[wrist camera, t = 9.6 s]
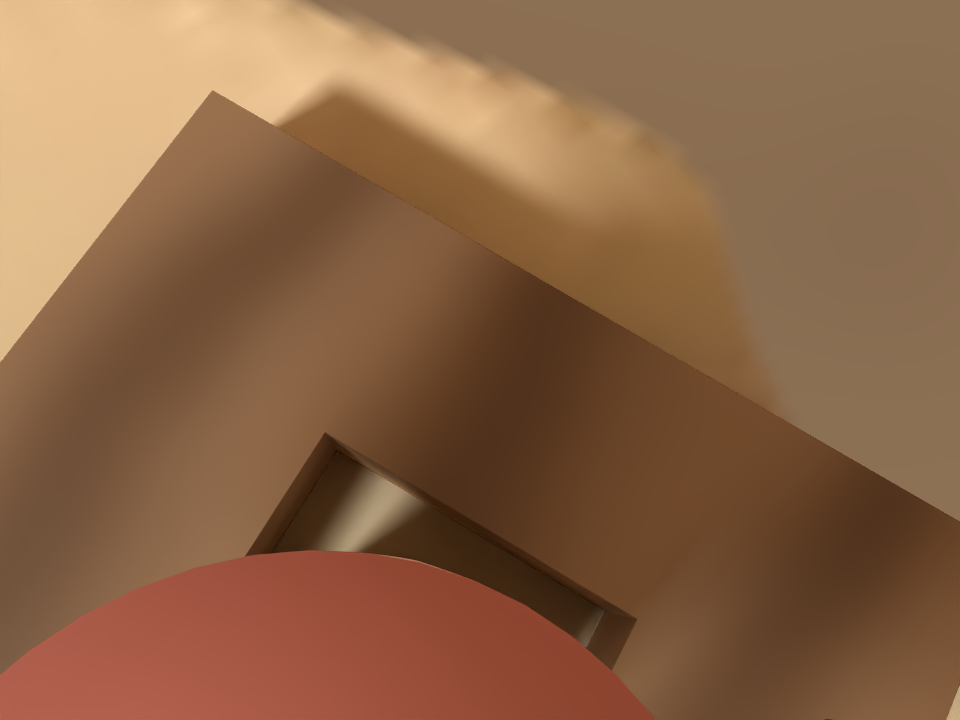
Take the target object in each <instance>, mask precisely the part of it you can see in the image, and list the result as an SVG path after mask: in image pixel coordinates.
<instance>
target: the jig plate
mask: <svg viewBox="0 0 960 720" xmlns="http://www.w3.org/2000/svg"><path fill="white" fill-rule="evenodd" d="M337 450H338V451H340V452H342V453H343V454H345V455H347V456H348V457H350V458H352V459H353V460H355V461H357V462H358V463H360V464H362V465H363V466H365V467H367V468H368V469H370V470H372V471H373V472H375V473H377V474H378V475H380V476H382V477H383V478H385V479H387V480H388V481H390V482H392V483H393V484H395V485H397V486H398V487H400V488H402V489H403V490H405V491H407V492H408V493H410V494H412V495H413V496H415V497H417V498H418V499H420V500H422V501H423V502H425V503H427V504H428V505H430V506H432V507H433V508H435V509H437V510H438V511H440V512H442V513H443V514H445V515H447V516H448V517H450V518H452V519H453V520H455V521H457V522H458V523H460V524H462V525H463V526H465V527H467V528H468V529H470V530H472V531H473V532H475V533H477V534H478V535H480V536H482V537H483V538H485V539H487V540H488V541H490V542H492V543H493V544H495V545H497V546H498V547H500V548H502V549H503V550H505V551H507V552H508V553H510V554H512V555H513V556H515V557H517V558H518V559H520V560H522V561H523V562H525V563H527V564H528V565H530V566H532V567H533V568H535V569H537V570H538V571H540V572H542V573H543V574H545V575H547V576H548V577H550V578H552V579H553V580H555V581H557V582H558V583H560V584H562V585H563V586H565V587H567V588H568V589H570V590H572V591H573V592H575V593H577V594H578V595H580V596H582V597H583V598H585V599H587V600H588V601H590V602H592V603H593V604H595V605H597V606H598V607H600V608H602V609H603V610H605V613H604V615H603V617H602V619H601V621H600V623H599V625H598V627H597V629H596V631H595V633H594V634H593V636H592V638H591V640H590V642H589V644H588V646H587V648H586V649H587V650H588V651H590V652H591V653H592V654H593V655H594V656H595V657H597V658H598V659H599V660H600V661H601V662H602V663H603V664H605V665H606V666H607V667H608V668H609V669H610V670H611V671H613V672H614V673H615V674H616V675H617V676H618V677H619V679H620V680H621V681H622V682H623V683H624V684H625V685H626V686H627V688H628V689H629V690H630V691H631V692H632V693H633V694H634V695H635V697H636V698H637V699H638V700H639V701H640V702H641V703H642V704H643V705H644V707H645V708H646V709H647V710H648V711H649V712H650V713H651V714H652V716H653V717H654V718H655V719H656V720H825V719H832V720H946V719H947V716H948V714H949V711H950V708H951V706H952V703H953V700H954V698H955V695H956V693H957V690H958V687H959V685H960V522H959V521H958V520H956V519H954V518H952V517H951V516H949V515H947V514H945V513H944V512H942V511H940V510H939V509H937V508H935V507H933V506H932V505H930V504H928V503H926V502H925V501H923V500H921V499H919V498H918V497H916V496H914V495H913V494H911V493H909V492H907V491H906V490H904V489H902V488H900V487H899V486H897V485H895V484H894V483H892V482H890V481H888V480H886V479H885V478H883V477H881V476H880V475H878V474H876V473H875V472H873V471H871V470H869V469H868V468H866V467H864V466H862V465H861V464H859V463H857V462H855V461H854V460H852V459H850V458H848V457H847V456H845V455H843V454H842V453H840V452H838V451H836V450H835V449H833V448H831V447H829V446H828V445H826V444H824V443H823V442H821V441H819V440H817V439H816V438H814V437H812V436H810V435H809V434H807V433H805V432H803V431H802V430H800V429H798V428H797V427H795V426H793V425H791V424H790V423H788V422H786V421H784V420H783V419H781V418H779V417H778V416H776V415H774V414H772V413H771V412H769V411H767V410H765V409H764V408H762V407H760V406H758V405H757V404H755V403H753V402H752V401H750V400H748V399H746V398H745V397H743V396H741V395H739V394H738V393H736V392H734V391H732V390H731V389H729V388H727V387H726V386H724V385H722V384H720V383H719V382H717V381H715V380H713V379H712V378H710V377H708V376H706V375H705V374H703V373H701V372H700V371H698V370H696V369H694V368H693V367H691V366H689V365H687V364H686V363H684V362H682V361H681V360H679V359H677V358H675V357H674V356H672V355H670V354H668V353H667V352H665V351H663V350H661V349H660V348H658V347H656V346H655V345H653V344H651V343H649V342H648V341H646V340H644V339H642V338H641V337H639V336H637V335H635V334H634V333H632V332H630V331H629V330H627V329H625V328H623V327H622V326H620V325H618V324H616V323H615V322H613V321H611V320H609V319H608V318H606V317H604V316H603V315H601V314H599V313H597V312H596V311H594V310H592V309H590V308H589V307H587V306H585V305H584V304H582V303H580V302H578V301H577V300H575V299H573V298H571V297H570V296H568V295H566V294H564V293H563V292H561V291H559V290H558V289H556V288H554V287H552V286H551V285H549V284H547V283H545V282H544V281H542V280H540V279H538V278H537V277H535V276H533V275H532V274H530V273H528V272H526V271H525V270H523V269H521V268H519V267H518V266H516V265H514V264H512V263H511V262H509V261H507V260H506V259H504V258H502V257H500V256H499V255H497V254H495V253H493V252H492V251H490V250H488V249H487V248H485V247H483V246H481V245H480V244H478V243H476V242H474V241H473V240H471V239H469V238H467V237H466V236H464V235H462V234H461V233H459V232H457V231H455V230H454V229H452V228H450V227H448V226H447V225H445V224H443V223H441V222H440V221H438V220H436V219H435V218H433V217H431V216H429V215H428V214H426V213H424V212H422V211H421V210H419V209H417V208H415V207H414V206H412V205H410V204H409V203H407V202H405V201H403V200H402V199H400V198H398V197H396V196H395V195H393V194H391V193H390V192H388V191H386V190H384V189H383V188H381V187H379V186H377V185H376V184H374V183H372V182H370V181H369V180H367V179H365V178H364V177H362V176H360V175H358V174H357V173H355V172H353V171H351V170H350V169H348V168H346V167H344V166H343V165H341V164H339V163H338V162H336V161H334V160H332V159H331V158H329V157H327V156H325V155H324V154H322V153H320V152H318V151H317V150H315V149H313V148H312V147H310V146H308V145H306V144H305V143H303V142H301V141H299V140H298V139H296V138H294V137H293V136H291V135H289V134H287V133H286V132H284V131H282V130H280V129H279V128H277V127H275V126H273V125H272V124H270V123H268V122H267V121H265V120H263V119H261V118H260V117H258V116H256V115H254V114H253V113H251V112H249V111H247V110H246V109H244V108H242V107H241V106H239V105H237V104H235V103H234V102H232V101H230V100H228V99H227V98H225V97H223V96H221V95H220V94H218V93H216V92H215V91H213V90H212V92H211V93H210V94H209V95H208V97H207V98H206V99H205V101H204V102H203V103H202V104H201V106H200V107H199V108H198V110H197V111H196V112H195V113H194V115H193V116H192V117H191V118H190V120H189V121H188V122H187V124H186V125H185V126H184V127H183V129H182V130H181V131H180V133H179V134H178V135H177V136H176V138H175V139H174V140H173V142H172V143H171V144H170V145H169V147H168V148H167V149H166V151H165V152H164V153H163V154H162V156H161V157H160V158H159V160H158V161H157V162H156V163H155V165H154V166H153V167H152V169H151V170H150V171H149V172H148V174H147V175H146V176H145V178H144V179H143V180H142V181H141V183H140V184H139V185H138V187H137V188H136V189H135V190H134V192H133V193H132V194H131V196H130V197H129V198H128V199H127V201H126V202H125V203H124V204H123V206H122V207H121V208H120V210H119V211H118V212H117V213H116V215H115V216H114V217H113V219H112V220H111V221H110V222H109V224H108V225H107V226H106V228H105V229H104V230H103V231H102V233H101V234H100V235H99V237H98V238H97V239H96V240H95V242H94V243H93V244H92V246H91V247H90V248H89V249H88V251H87V252H86V253H85V255H84V256H83V257H82V258H81V260H80V261H79V262H78V264H77V265H76V266H75V267H74V269H73V270H72V271H71V273H70V274H69V275H68V276H67V278H66V279H65V280H64V282H63V283H62V284H61V285H60V287H59V288H58V289H57V290H56V292H55V293H54V294H53V296H52V297H51V298H50V299H49V301H48V302H47V303H46V305H45V306H44V307H43V308H42V310H41V311H40V312H39V314H38V315H37V316H36V317H35V319H34V320H33V321H32V323H31V324H30V325H29V326H28V328H27V329H26V330H25V332H24V333H23V334H22V335H21V337H20V338H19V339H18V341H17V342H16V343H15V344H14V346H13V347H12V348H11V350H10V351H9V352H8V353H7V355H6V356H5V357H4V359H3V360H2V361H1V362H0V675H1V674H2V673H3V672H4V671H5V670H7V669H8V668H9V667H10V666H11V665H13V664H14V663H15V662H16V661H17V660H19V659H20V658H21V657H22V656H23V655H25V654H26V653H27V652H28V651H30V650H31V649H33V648H34V647H36V646H37V645H39V644H40V643H42V642H43V641H45V640H46V639H48V638H49V637H51V636H52V635H54V634H55V633H57V632H58V631H60V630H62V629H63V628H65V627H66V626H68V625H69V624H71V623H72V622H74V621H75V620H77V619H78V618H80V617H81V616H83V615H85V614H87V613H89V612H91V611H93V610H95V609H97V608H99V607H101V606H103V605H105V604H107V603H109V602H111V601H113V600H115V599H117V598H119V597H121V596H123V595H125V594H127V593H129V592H131V591H133V590H135V589H137V588H139V587H142V586H145V585H148V584H151V583H153V582H156V581H159V580H162V579H165V578H167V577H170V576H173V575H176V574H179V573H181V572H184V571H187V570H190V569H193V568H196V567H200V566H205V565H210V564H214V563H219V562H223V561H228V560H232V559H237V558H241V557H246V556H251V555H259V554H271V553H272V552H273V550H274V549H275V547H276V545H277V544H278V542H279V541H280V539H281V538H282V536H283V534H284V533H285V531H286V530H287V528H288V527H289V525H290V523H291V522H292V520H293V519H294V517H295V516H296V514H297V512H298V511H299V509H300V508H301V506H302V505H303V503H304V501H305V500H306V498H307V497H308V495H309V494H310V492H311V490H312V489H313V487H314V486H315V484H316V483H317V481H318V479H319V478H320V476H321V475H322V473H323V471H324V470H325V468H326V467H327V465H328V464H329V462H330V460H331V459H332V457H333V456H334V454H335V453H336V451H337Z"/></svg>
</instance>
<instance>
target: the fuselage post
mask: <svg viewBox="0 0 960 720" xmlns="http://www.w3.org/2000/svg"><path fill="white" fill-rule="evenodd" d="M0 720H656V719H655V718H654V717H653V716H652V714H651V713H650V712H649V711H648V710H647V709H646V708H645V707H644V705H643V704H642V703H641V702H640V701H639V700H638V699H637V698H636V697H635V695H634V694H633V693H632V692H631V691H630V690H629V689H628V688H627V686H626V685H625V684H624V683H623V682H622V681H621V680H620V679H619V677H618V676H617V675H616V674H615V673H614V672H613V671H611V670H610V669H609V668H608V667H607V666H606V665H605V664H603V663H602V662H601V661H600V660H599V659H598V658H597V657H595V656H594V655H593V654H592V653H591V652H590V651H588V650H587V649H586V648H585V647H584V646H583V645H582V644H580V643H579V642H578V641H577V640H576V639H575V638H573V637H572V636H571V635H570V634H568V633H567V632H565V631H564V630H562V629H560V628H559V627H557V626H556V625H554V624H553V623H551V622H550V621H548V620H547V619H545V618H544V617H542V616H541V615H539V614H538V613H536V612H535V611H533V610H532V609H530V608H529V607H527V606H526V605H524V604H522V603H520V602H518V601H516V600H514V599H512V598H510V597H508V596H506V595H504V594H501V593H499V592H497V591H495V590H493V589H491V588H489V587H487V586H485V585H483V584H481V583H479V582H477V581H475V580H472V579H469V578H466V577H463V576H461V575H458V574H455V573H452V572H449V571H446V570H443V569H441V568H438V567H435V566H432V565H429V564H426V563H423V562H420V561H417V560H412V559H407V558H401V557H394V556H386V555H379V554H371V553H360V552H338V551H317V550H306V551H294V552H283V553H271V554H259V555H251V556H246V557H241V558H237V559H232V560H228V561H223V562H219V563H214V564H210V565H205V566H200V567H196V568H193V569H190V570H187V571H184V572H181V573H179V574H176V575H173V576H170V577H167V578H165V579H162V580H159V581H156V582H153V583H151V584H148V585H145V586H142V587H139V588H137V589H135V590H133V591H131V592H129V593H127V594H125V595H123V596H121V597H119V598H117V599H115V600H113V601H111V602H109V603H107V604H105V605H103V606H101V607H99V608H97V609H95V610H93V611H91V612H89V613H87V614H85V615H83V616H81V617H80V618H78V619H77V620H75V621H74V622H72V623H71V624H69V625H68V626H66V627H65V628H63V629H62V630H60V631H58V632H57V633H55V634H54V635H52V636H51V637H49V638H48V639H46V640H45V641H43V642H42V643H40V644H39V645H37V646H36V647H34V648H33V649H31V650H30V651H28V652H27V653H26V654H25V655H23V656H22V657H21V658H20V659H19V660H17V661H16V662H15V663H14V664H13V665H11V666H10V667H9V668H8V669H7V670H5V671H4V672H3V673H2V674H1V675H0Z"/></svg>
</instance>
